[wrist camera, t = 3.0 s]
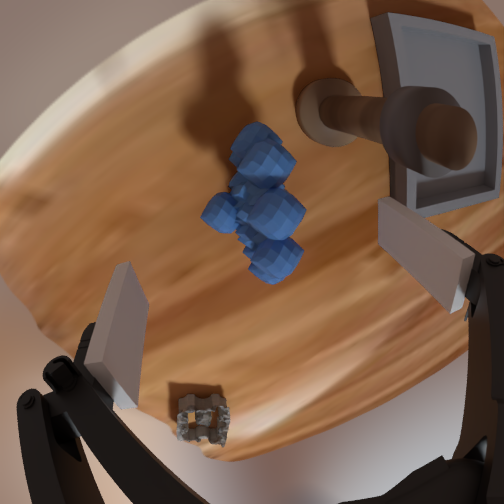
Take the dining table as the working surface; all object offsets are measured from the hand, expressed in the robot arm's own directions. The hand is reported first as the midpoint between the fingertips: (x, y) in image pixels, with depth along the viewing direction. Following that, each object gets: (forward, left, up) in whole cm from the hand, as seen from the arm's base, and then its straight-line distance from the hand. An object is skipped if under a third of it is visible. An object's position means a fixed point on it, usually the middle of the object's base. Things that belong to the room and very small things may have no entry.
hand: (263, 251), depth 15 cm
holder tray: (-23, -4, -12) cm, 27 cm away
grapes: (0, 0, -13) cm, 13 cm away
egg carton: (+12, +31, -13) cm, 36 cm away
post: (-9, -5, -12) cm, 16 cm away
